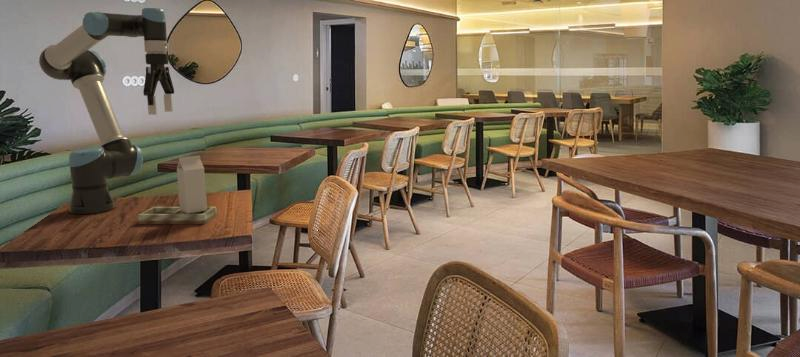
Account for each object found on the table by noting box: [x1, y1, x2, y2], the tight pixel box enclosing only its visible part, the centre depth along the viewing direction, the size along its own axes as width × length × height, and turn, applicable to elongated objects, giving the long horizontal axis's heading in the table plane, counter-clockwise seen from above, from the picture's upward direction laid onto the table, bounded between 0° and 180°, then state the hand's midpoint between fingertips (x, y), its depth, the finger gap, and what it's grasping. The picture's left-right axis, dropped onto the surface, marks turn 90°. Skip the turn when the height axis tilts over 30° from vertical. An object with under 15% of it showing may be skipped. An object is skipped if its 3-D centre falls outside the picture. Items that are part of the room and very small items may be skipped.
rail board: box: [137, 206, 218, 225], centre depth 209 cm, size 23×12×3 cm, turn 88°
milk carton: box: [176, 155, 208, 213], centre depth 206 cm, size 7×7×19 cm
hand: (161, 113), depth 216 cm, fingers open, 13 cm apart
